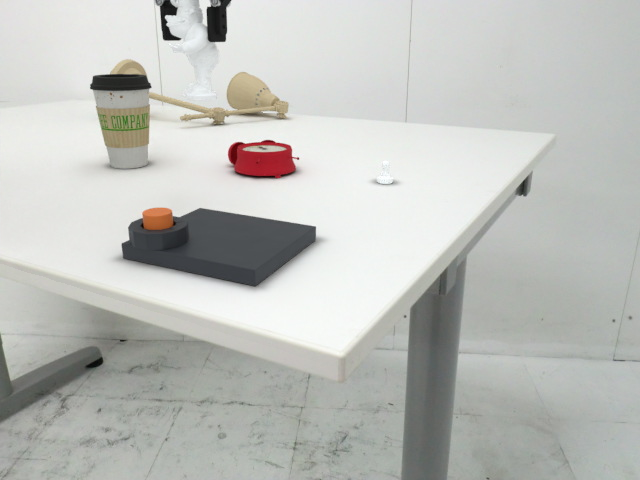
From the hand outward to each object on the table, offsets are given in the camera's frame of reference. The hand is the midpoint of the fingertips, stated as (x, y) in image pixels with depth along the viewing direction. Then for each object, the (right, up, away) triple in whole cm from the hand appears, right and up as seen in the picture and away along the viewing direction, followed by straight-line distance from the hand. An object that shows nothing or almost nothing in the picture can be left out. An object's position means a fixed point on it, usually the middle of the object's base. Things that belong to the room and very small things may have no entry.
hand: (194, 39), depth 72 cm
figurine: (0, -7, +3) cm, 7 cm away
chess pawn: (+26, -16, +19) cm, 37 cm away
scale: (+5, -26, -9) cm, 28 cm away
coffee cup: (-18, -12, +28) cm, 35 cm away
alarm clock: (+6, -13, +27) cm, 30 cm away
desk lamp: (-15, +7, +80) cm, 82 cm away
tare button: (-1, -24, -12) cm, 27 cm away
